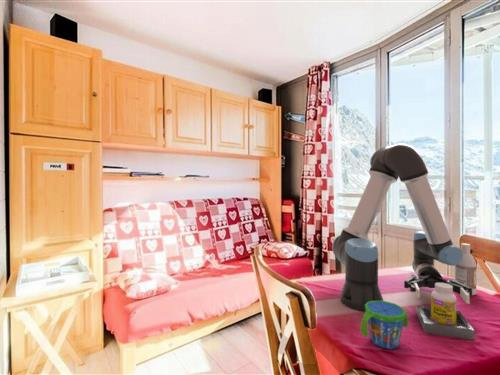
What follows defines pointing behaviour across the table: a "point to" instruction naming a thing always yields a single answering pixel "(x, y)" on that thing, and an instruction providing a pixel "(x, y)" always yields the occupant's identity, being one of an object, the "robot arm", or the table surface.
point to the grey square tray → (445, 325)
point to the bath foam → (466, 269)
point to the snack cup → (384, 323)
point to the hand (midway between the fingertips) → (442, 296)
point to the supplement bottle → (443, 304)
